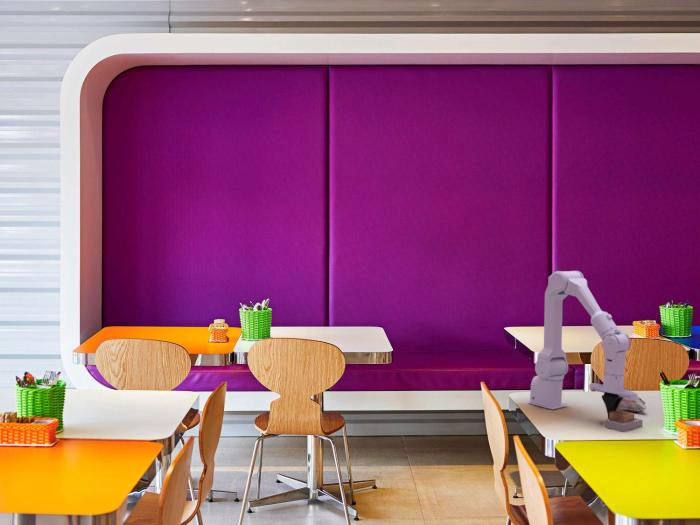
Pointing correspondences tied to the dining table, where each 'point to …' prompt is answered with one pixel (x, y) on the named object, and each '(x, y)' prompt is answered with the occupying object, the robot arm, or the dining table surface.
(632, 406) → the packaged food
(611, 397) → the robot arm
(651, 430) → the dining table surface
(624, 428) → the purple-grey c-shaped block
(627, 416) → the wooden cube block
